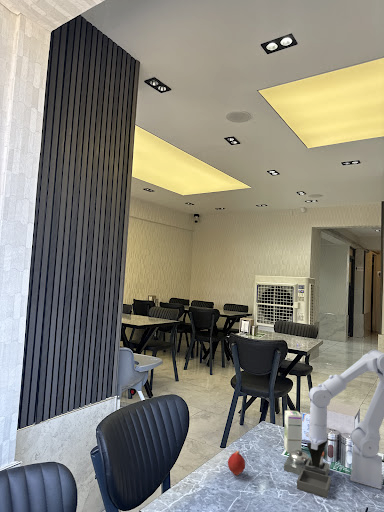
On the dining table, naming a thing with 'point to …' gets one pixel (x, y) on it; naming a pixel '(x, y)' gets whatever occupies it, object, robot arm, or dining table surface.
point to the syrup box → (292, 431)
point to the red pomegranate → (236, 463)
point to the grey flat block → (303, 464)
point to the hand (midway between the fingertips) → (316, 463)
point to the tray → (314, 483)
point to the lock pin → (320, 462)
